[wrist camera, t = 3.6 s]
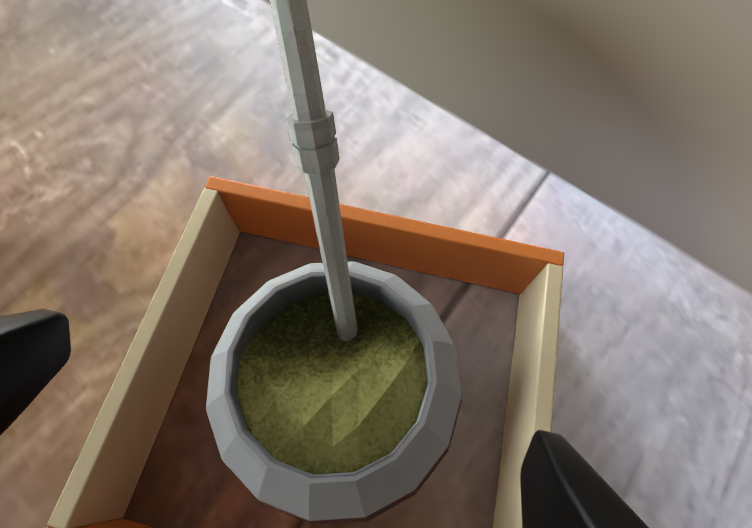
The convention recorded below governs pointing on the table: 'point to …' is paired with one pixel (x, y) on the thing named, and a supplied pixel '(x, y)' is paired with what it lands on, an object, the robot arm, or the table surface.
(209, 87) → the table surface
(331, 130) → the mate gourd
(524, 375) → the rectangular frame
